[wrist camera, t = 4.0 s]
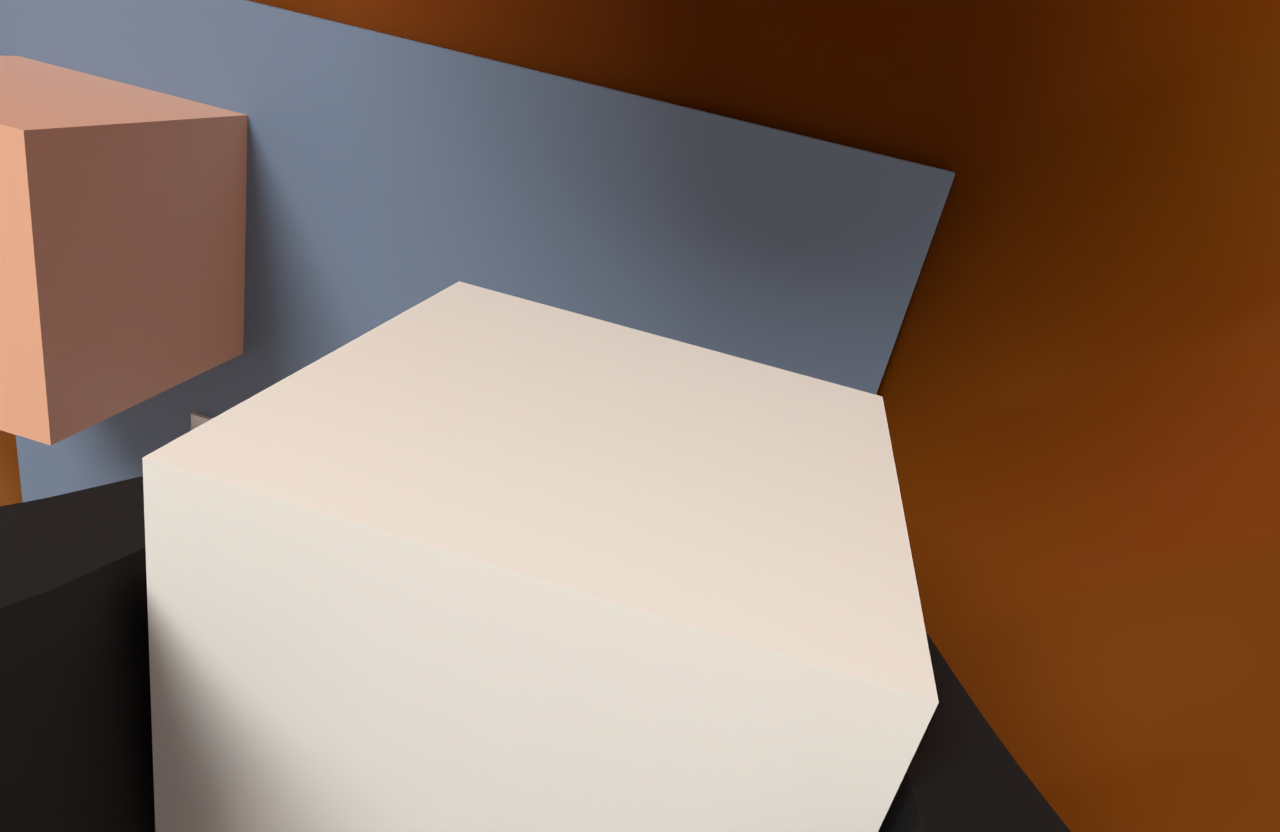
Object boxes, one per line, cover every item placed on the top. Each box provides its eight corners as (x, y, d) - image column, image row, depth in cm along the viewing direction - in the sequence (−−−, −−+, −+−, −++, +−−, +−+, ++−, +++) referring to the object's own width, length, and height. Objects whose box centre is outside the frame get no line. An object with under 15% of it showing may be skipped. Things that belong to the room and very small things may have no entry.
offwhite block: (761, 730, 11) (719, 1171, 7) (415, 621, 12) (159, 961, 7) (882, 396, 9) (938, 703, 5) (458, 281, 10) (142, 457, 5)
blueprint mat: (711, 847, 21) (709, 861, 21) (45, 626, 23) (33, 635, 23) (953, 171, 14) (956, 174, 14) (-23, -66, 16) (-42, -69, 16)
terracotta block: (243, 353, 18) (50, 446, 14) (39, 294, 19) (-212, 364, 14) (247, 114, 16) (22, 130, 12) (19, 56, 17) (-282, 48, 12)
